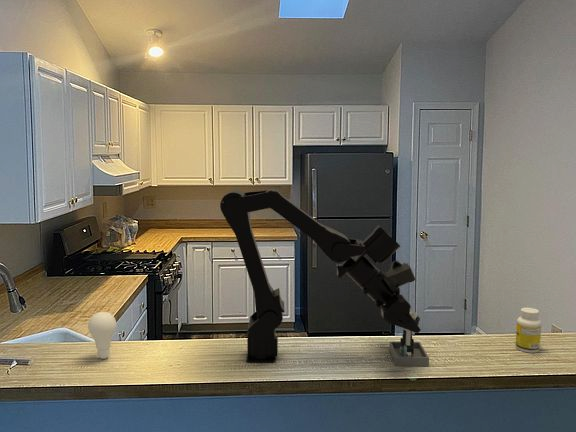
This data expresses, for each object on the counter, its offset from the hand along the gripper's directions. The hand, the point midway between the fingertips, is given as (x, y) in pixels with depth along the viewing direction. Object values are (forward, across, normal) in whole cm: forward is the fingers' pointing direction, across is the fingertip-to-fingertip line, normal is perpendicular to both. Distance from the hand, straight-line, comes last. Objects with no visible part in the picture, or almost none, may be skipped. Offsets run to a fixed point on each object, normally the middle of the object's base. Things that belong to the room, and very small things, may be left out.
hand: (414, 324), depth 124 cm
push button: (+4, 0, +6) cm, 8 cm away
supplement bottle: (+26, +6, -15) cm, 31 cm away
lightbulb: (-44, -3, +56) cm, 72 cm away
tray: (+5, 0, +6) cm, 8 cm away
